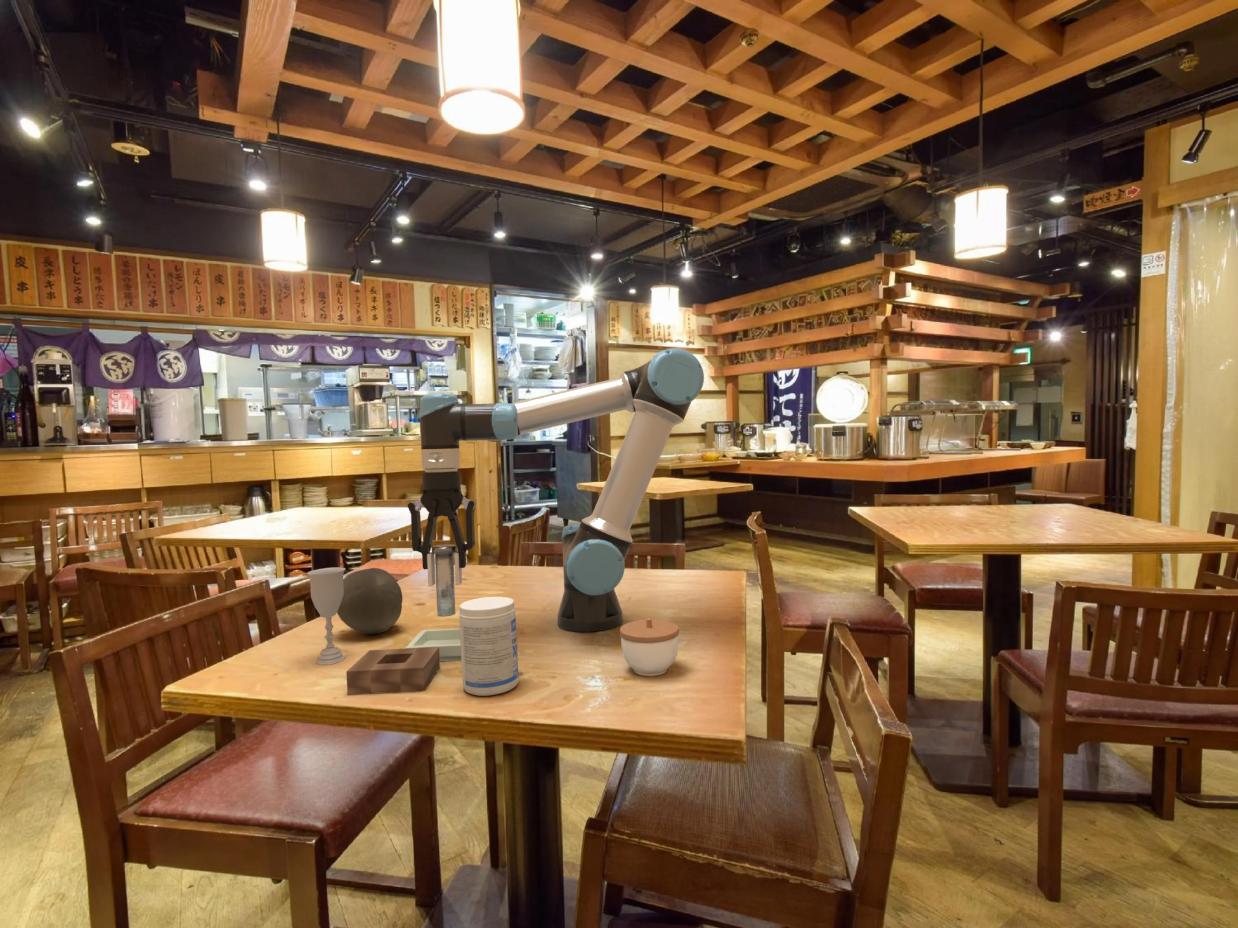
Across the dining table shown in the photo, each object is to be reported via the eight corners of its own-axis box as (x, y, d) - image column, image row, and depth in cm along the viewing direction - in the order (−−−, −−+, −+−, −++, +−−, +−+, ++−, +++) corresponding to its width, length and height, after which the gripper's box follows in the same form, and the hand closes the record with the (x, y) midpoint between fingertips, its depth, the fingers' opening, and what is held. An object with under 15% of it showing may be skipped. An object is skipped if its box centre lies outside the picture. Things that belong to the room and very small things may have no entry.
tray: (488, 640, 133) (487, 626, 133) (477, 659, 121) (477, 644, 121) (422, 643, 132) (421, 629, 132) (405, 663, 120) (404, 647, 120)
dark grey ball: (372, 622, 150) (369, 561, 149) (417, 628, 144) (414, 564, 143) (322, 640, 137) (319, 573, 137) (369, 647, 131) (366, 577, 131)
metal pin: (460, 610, 129) (458, 543, 128) (455, 616, 124) (453, 547, 123) (437, 611, 128) (435, 544, 128) (431, 617, 124) (429, 548, 123)
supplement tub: (528, 688, 105) (524, 602, 105) (475, 702, 100) (471, 613, 100) (504, 672, 113) (501, 593, 113) (454, 685, 108) (450, 601, 108)
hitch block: (440, 667, 117) (439, 646, 117) (424, 690, 106) (423, 667, 106) (370, 671, 116) (369, 650, 116) (347, 694, 105) (346, 671, 105)
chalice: (333, 667, 119) (329, 574, 119) (302, 666, 120) (298, 574, 120) (357, 654, 126) (353, 567, 126) (327, 653, 128) (323, 567, 127)
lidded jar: (611, 665, 115) (610, 616, 115) (662, 656, 119) (661, 608, 119) (636, 685, 105) (635, 630, 105) (691, 673, 109) (689, 621, 109)
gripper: (390, 472, 121) (395, 590, 122) (482, 469, 122) (486, 586, 123) (402, 471, 129) (406, 582, 129) (488, 468, 129) (492, 578, 130)
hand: (445, 584), depth 126 cm, fingers closed on metal pin, 5 cm apart
